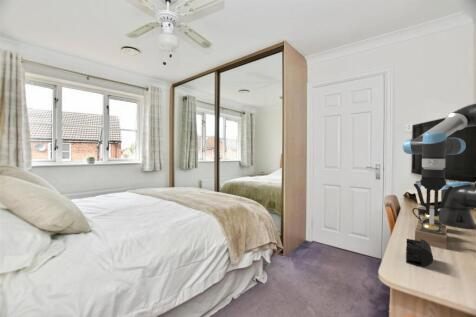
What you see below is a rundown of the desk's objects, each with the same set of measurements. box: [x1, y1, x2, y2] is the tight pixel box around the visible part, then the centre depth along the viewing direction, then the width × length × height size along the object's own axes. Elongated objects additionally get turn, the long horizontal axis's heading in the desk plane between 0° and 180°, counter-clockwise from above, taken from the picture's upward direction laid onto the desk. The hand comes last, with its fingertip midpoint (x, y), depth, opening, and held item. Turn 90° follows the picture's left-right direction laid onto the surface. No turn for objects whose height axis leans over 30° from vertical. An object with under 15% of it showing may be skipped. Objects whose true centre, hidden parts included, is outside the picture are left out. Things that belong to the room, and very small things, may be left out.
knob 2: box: [423, 224, 439, 232], centre depth 96 cm, size 5×5×2 cm
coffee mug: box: [412, 206, 440, 222], centre depth 117 cm, size 12×9×10 cm
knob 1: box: [425, 213, 439, 222], centre depth 104 cm, size 5×5×2 cm
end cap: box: [405, 238, 434, 268], centre depth 80 cm, size 10×7×7 cm
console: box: [414, 219, 448, 250], centre depth 100 cm, size 20×10×6 cm, turn 138°
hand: (431, 223), depth 96 cm, fingers closed
